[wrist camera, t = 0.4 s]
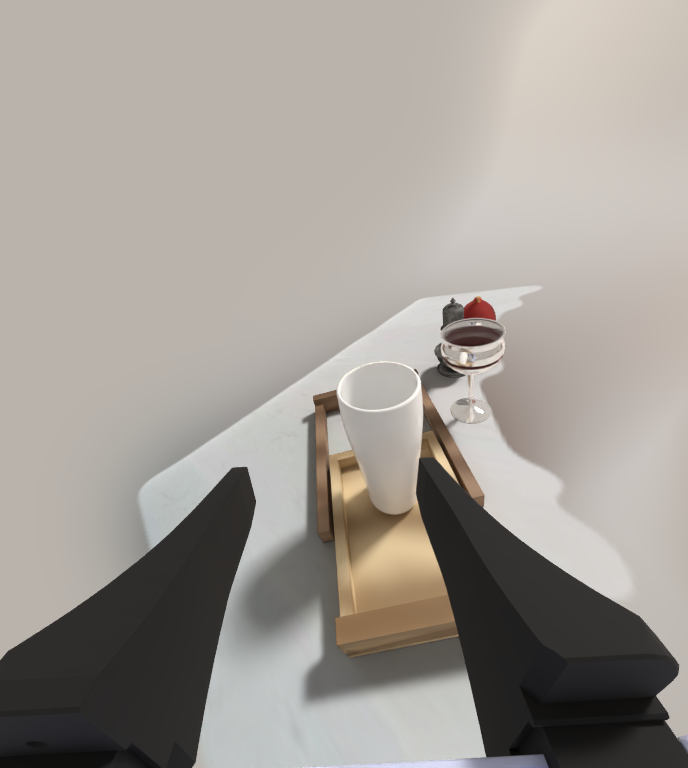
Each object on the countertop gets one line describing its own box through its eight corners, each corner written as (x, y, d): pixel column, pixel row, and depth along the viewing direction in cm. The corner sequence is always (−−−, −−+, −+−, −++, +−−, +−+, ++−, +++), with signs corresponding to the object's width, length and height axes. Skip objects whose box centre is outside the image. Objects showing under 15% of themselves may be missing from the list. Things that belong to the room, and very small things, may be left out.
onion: (457, 332, 55) (457, 292, 50) (490, 328, 53) (493, 286, 48) (461, 347, 50) (461, 305, 46) (497, 344, 48) (500, 299, 44)
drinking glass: (357, 519, 29) (324, 412, 20) (368, 465, 34) (345, 361, 26) (425, 529, 27) (421, 413, 18) (426, 469, 32) (422, 358, 24)
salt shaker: (471, 380, 43) (472, 306, 36) (431, 377, 46) (426, 308, 39) (476, 358, 47) (478, 288, 40) (439, 356, 50) (435, 291, 43)
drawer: (520, 624, 21) (527, 607, 18) (350, 657, 22) (336, 645, 19) (433, 443, 35) (431, 420, 33) (334, 467, 36) (325, 447, 34)
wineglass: (504, 400, 38) (514, 319, 31) (489, 435, 34) (496, 352, 27) (454, 389, 42) (452, 315, 35) (435, 419, 38) (429, 343, 32)
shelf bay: (483, 506, 28) (484, 489, 26) (323, 542, 29) (314, 528, 27) (417, 384, 45) (415, 369, 44) (318, 409, 46) (313, 395, 45)
